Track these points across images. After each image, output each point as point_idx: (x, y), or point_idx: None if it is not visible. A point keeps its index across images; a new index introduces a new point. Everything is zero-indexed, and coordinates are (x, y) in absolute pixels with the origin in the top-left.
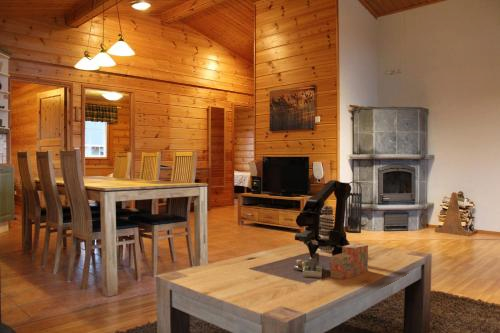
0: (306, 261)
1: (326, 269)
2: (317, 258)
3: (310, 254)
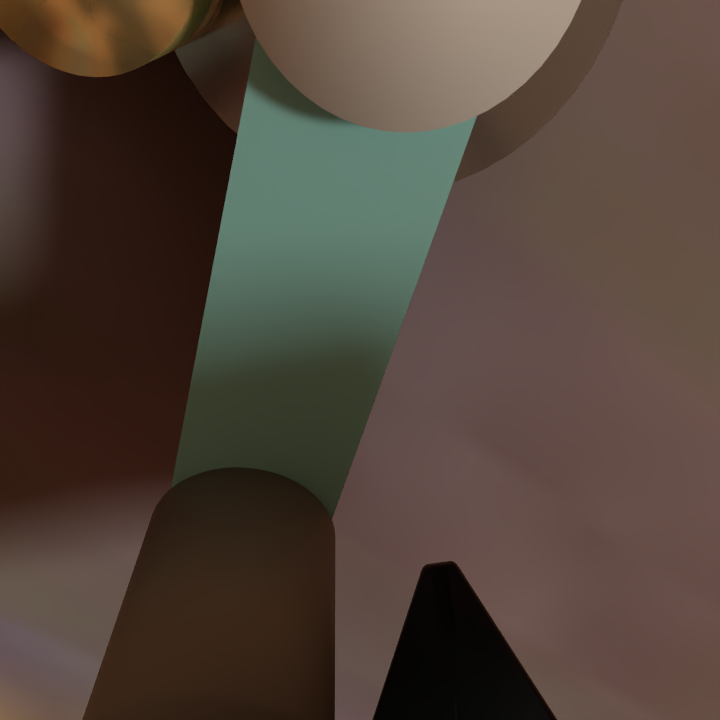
0: (299, 245)
1: (115, 531)
2: (120, 610)
3: (475, 642)
